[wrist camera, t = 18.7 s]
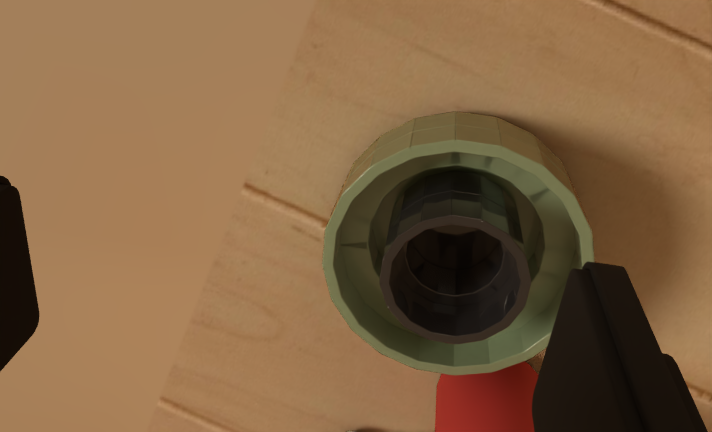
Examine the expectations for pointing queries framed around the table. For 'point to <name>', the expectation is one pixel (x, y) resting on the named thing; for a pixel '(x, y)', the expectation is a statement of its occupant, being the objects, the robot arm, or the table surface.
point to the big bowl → (468, 154)
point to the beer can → (487, 401)
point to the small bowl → (455, 259)
